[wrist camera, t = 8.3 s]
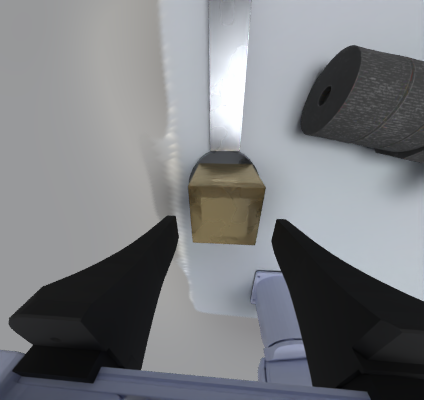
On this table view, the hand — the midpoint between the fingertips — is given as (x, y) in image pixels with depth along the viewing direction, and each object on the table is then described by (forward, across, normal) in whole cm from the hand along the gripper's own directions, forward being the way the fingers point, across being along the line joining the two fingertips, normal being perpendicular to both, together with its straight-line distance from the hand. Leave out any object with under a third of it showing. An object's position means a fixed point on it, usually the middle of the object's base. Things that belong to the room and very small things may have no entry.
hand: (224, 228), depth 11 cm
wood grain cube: (+7, 0, 0) cm, 7 cm away
